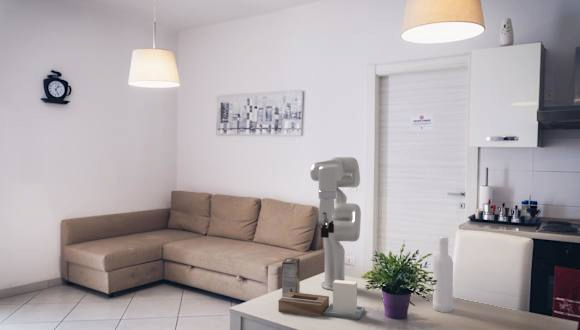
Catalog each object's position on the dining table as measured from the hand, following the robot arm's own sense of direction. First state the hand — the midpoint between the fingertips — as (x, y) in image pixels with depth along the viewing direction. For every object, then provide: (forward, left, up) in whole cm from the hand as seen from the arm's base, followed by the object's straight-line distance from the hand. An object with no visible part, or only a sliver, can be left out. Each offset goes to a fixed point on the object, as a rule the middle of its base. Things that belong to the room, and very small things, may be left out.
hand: (327, 234), depth 204 cm
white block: (+9, +10, -29) cm, 32 cm away
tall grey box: (-5, -18, -30) cm, 35 cm away
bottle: (-9, +47, -30) cm, 56 cm away
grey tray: (+9, +10, -29) cm, 32 cm away
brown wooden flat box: (+10, -7, -29) cm, 32 cm away
